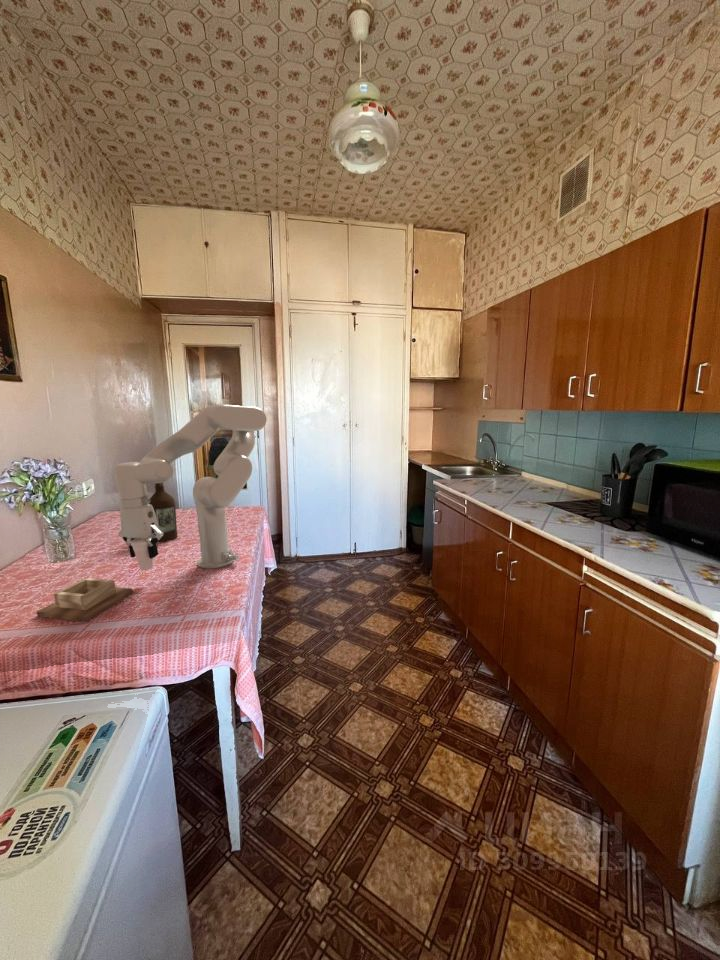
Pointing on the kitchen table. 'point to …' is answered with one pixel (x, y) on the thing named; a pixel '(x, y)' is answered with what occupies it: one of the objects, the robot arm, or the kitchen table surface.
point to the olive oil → (164, 513)
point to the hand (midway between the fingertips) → (144, 555)
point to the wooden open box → (85, 600)
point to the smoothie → (142, 553)
